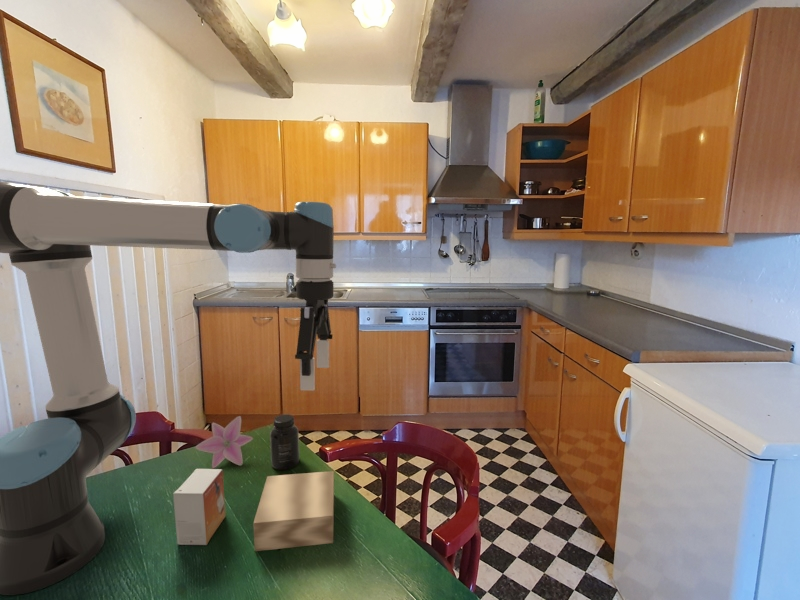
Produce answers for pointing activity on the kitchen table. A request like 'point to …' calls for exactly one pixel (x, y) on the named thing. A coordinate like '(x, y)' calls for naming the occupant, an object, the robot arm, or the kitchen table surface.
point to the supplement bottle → (284, 443)
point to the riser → (295, 511)
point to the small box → (199, 506)
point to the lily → (225, 443)
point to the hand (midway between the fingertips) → (315, 377)
